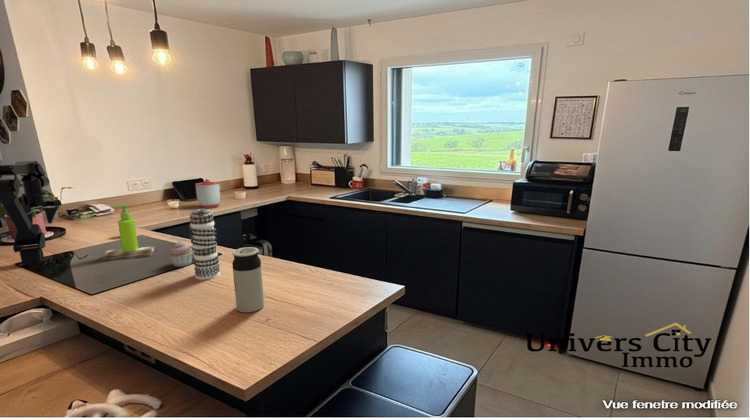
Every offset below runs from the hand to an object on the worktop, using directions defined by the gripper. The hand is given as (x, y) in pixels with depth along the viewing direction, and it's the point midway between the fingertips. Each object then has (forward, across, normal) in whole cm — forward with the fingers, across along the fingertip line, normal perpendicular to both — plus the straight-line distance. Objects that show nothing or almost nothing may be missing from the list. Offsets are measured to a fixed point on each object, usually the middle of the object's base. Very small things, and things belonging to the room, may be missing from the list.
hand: (40, 225), depth 165 cm
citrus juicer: (+13, -105, +23) cm, 108 cm away
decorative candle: (+13, +22, +85) cm, 89 cm away
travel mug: (+13, +47, +111) cm, 121 cm away
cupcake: (+13, +11, +69) cm, 71 cm away
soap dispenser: (+11, 0, +39) cm, 40 cm away
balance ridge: (+13, 0, +39) cm, 41 cm away
